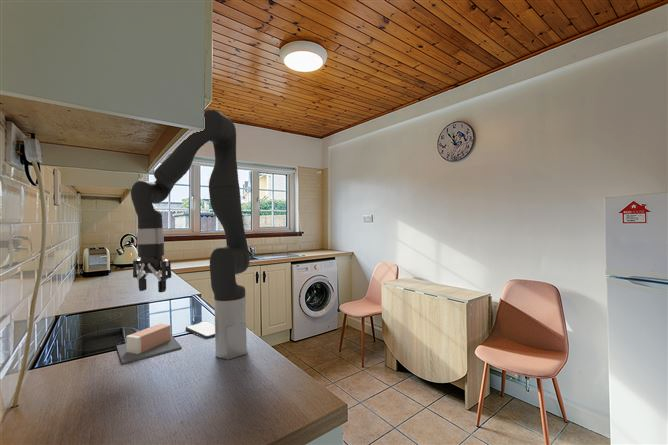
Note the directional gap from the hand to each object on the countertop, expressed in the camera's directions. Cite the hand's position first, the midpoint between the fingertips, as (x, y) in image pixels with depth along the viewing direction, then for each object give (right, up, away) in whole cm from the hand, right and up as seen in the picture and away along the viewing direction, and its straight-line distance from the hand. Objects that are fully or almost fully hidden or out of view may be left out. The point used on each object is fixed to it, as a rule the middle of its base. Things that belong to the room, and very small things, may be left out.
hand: (152, 291), depth 101 cm
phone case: (+12, -19, +14) cm, 26 cm away
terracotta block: (+1, -15, +5) cm, 16 cm away
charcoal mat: (-1, -18, -1) cm, 18 cm away
